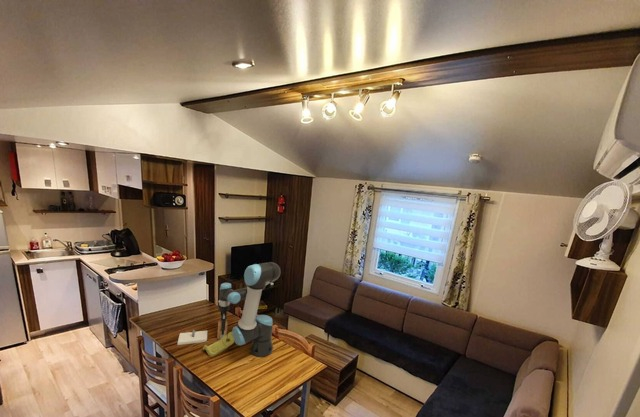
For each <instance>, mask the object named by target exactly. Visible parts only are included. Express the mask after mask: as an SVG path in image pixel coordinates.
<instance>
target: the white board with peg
mask: <svg viewBox="0 0 640 417" xmlns="http://www.w3.org/2000/svg"><path fill="white" fill-rule="evenodd" d="M207 340H208V330H200V331H196V330H195V329H192V332H191V331H188V332H180V333H179V336H178V339H177V346H181V345H187V344H188V345H189V344H198V343H199V344H200V343H205V342H207Z"/></svg>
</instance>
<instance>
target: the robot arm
mask: <svg viewBox="0 0 640 417" xmlns="http://www.w3.org/2000/svg"><path fill="white" fill-rule="evenodd" d="M280 276H281V267H280V266H279V264H277V263H276V262H272V261H269V262H262V263H258V264H257V263H254V264H252V265H248V266H247V267H246V269H245V270H244V274H243V277H244V283H245V285H246V287H243V288H238V289H232V283H230V282H223V283H221V284H220V287H219V296H218V297H219V298H218V299H219V300H218V312H219V313H220V321H222V322H221V330H220V331H221V334H220V339H222V338H223V337H224V335H225V321H226V320H227V314H228V312H229V311H230V306H231V304H233V305H236V304H238V303H239V302H240V301H241V300H245V301H244V305H243V311H242V313H241V314H242V315H241V318H240V319H238V322H237V325H235V326H233V328H232V331H231V332H232V334H233V338H234V341H235V342H234V343H235V344H236V345H237V346H243V345H246V344H248V343H251V344H250V347H249V349H250V350H249V352H250V354H251V355H252V356H254V357H258V358H264V357H265V358H266V357H267V356H269V355H271V354H272V353H273V351H274V345H273V341H272V333H273V332H272V331H273V326H274V325H273V324H274V323H273V318H272V317H271V316H269V315H266V314H258V309H259V305H260V301H261V296H262V291H263V290H265V288H266V286H267V285H269V284H270V283H274V282H276V281H277V280H278V279H279V278H280ZM257 314H258V315H257ZM220 339H219V340H220Z"/></svg>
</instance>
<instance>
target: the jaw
mask: <svg viewBox="0 0 640 417" xmlns="http://www.w3.org/2000/svg"><path fill="white" fill-rule="evenodd" d="M221 322H222V321H221V320H218V322H217V325H218V326H217V334H216V335H217V338H216V339H217V340H220V334H221V331H220V330H221ZM227 334H228V320H227V319H226V321H225V335H224V336H226V335H227Z"/></svg>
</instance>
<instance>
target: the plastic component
mask: <svg viewBox="0 0 640 417" xmlns="http://www.w3.org/2000/svg"><path fill="white" fill-rule="evenodd" d="M234 343H235V341H234V338H233V334H232V331H230V332H227V335H226V336H224V337H223V338H222V339H218V340H216V341H215V342H213V343H211V344H209V345H207V344H204V345H203V347H202V350H203V351H206V353H207V354H208V356H209V357H212V358H213V357H215V356H217V355H218V354H219V355H220V354H221V353H222V352H224V351H226V350H228V348H230V347H231V346H232V345H233V344H234Z"/></svg>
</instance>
